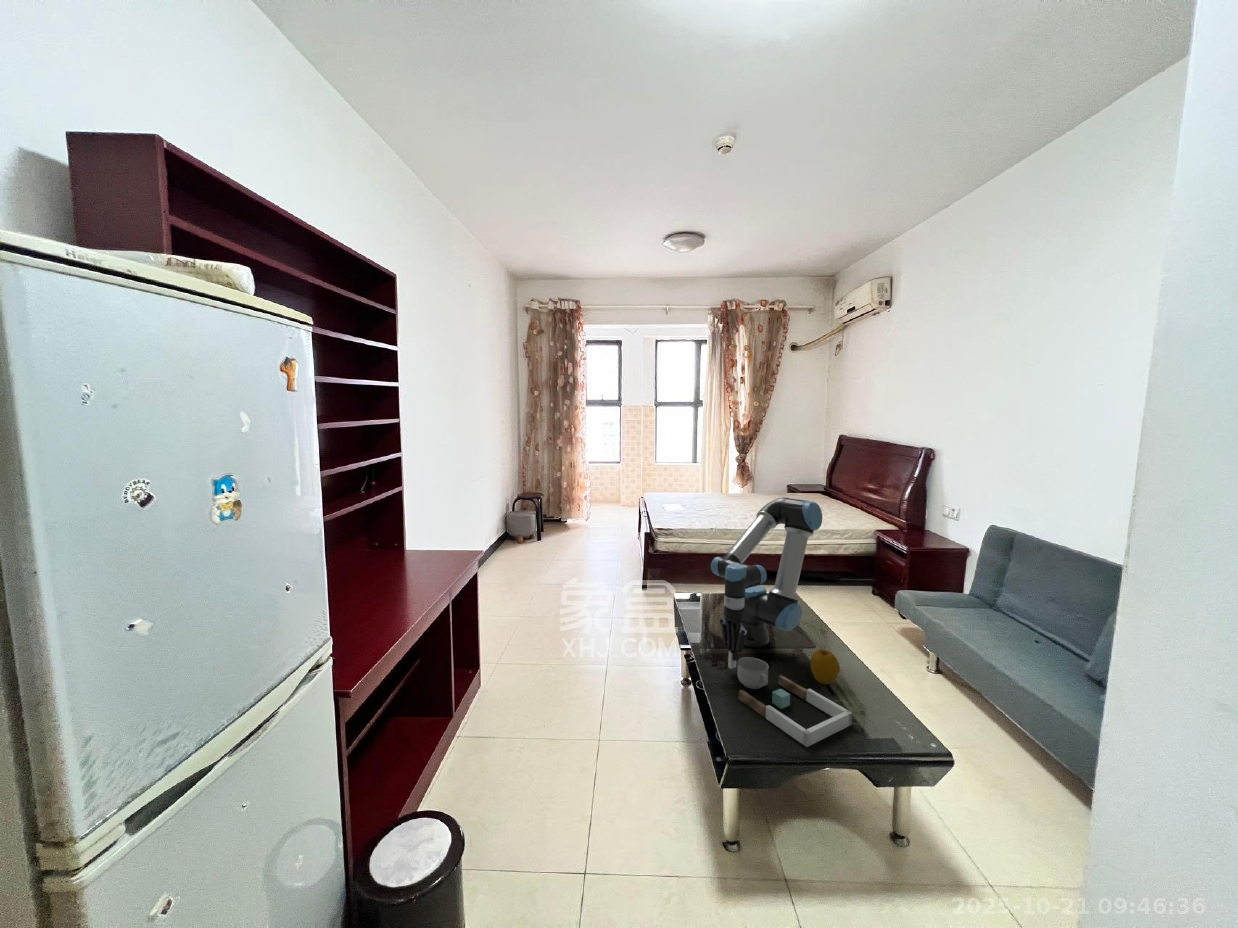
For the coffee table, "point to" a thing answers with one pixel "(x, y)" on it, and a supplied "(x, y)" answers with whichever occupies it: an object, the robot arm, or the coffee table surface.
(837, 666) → the apple
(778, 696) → the block
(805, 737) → the grey u-shaped frame
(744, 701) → the slot rails
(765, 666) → the teacup
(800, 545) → the robot arm
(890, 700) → the coffee table surface
